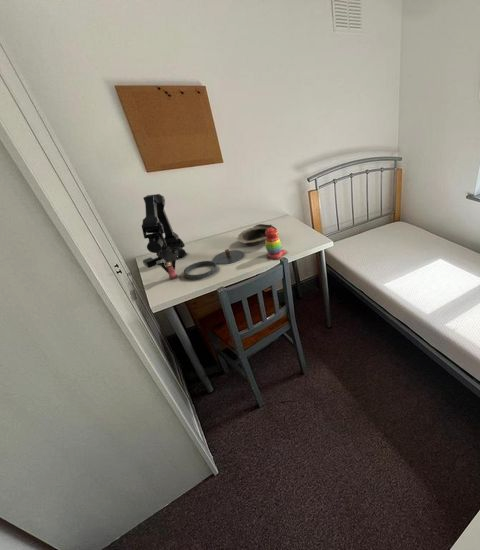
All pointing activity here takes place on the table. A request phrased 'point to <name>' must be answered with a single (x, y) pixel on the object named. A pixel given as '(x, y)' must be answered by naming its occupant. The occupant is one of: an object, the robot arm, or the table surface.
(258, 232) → the stone bowl
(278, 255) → the stacking bear
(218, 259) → the lid
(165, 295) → the table surface
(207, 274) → the pan
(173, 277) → the doll
